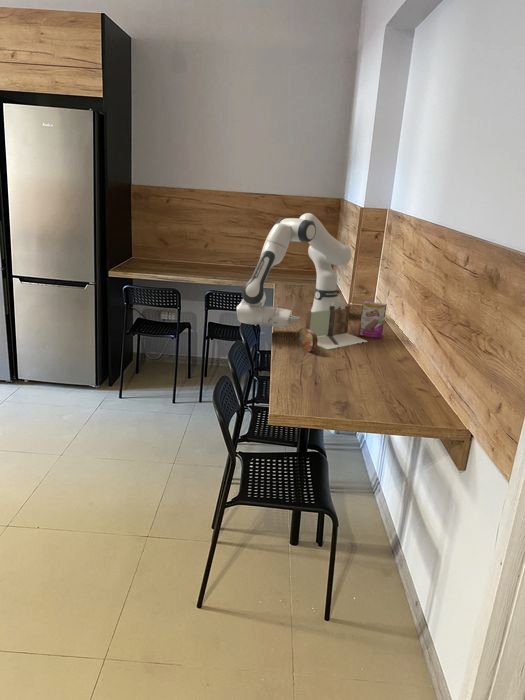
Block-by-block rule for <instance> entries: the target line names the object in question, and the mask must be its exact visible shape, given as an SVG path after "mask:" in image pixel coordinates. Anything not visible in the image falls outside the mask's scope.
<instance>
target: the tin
mask: <svg viewBox="0 0 525 700" xmlns="http://www.w3.org/2000/svg"><path fill="white" fill-rule="evenodd" d="M297 342H298V345H299V346H300V347H301V348H302V349H303V350H305V351H306V352H309V353H310V352H315V351H316V350H317V347H318V346H317V342H318V339H317V335H316V334H315V333H314V332H312V331H310V330H309V329H307V328H305V327H300V329H299V330H298V333H297Z"/></svg>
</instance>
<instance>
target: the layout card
mask: <svg viewBox="0 0 525 700" xmlns="http://www.w3.org/2000/svg"><path fill="white" fill-rule="evenodd" d="M317 339H318V342H317V347H319V348H323V349H325V350H332V349H337V348H338V347H339V348H343V347H344V348H345V347H348V345H349V346H353V344H354V345H358V344H357V343H359V344H362V342H364V343H368V340H366V339H364V338H361V337H358V336H356V335H353V334H350V333H348V332H347V333H342V334H336V335H332V336H328V335H324V336H319V337H317ZM339 348H338V349H339Z"/></svg>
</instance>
